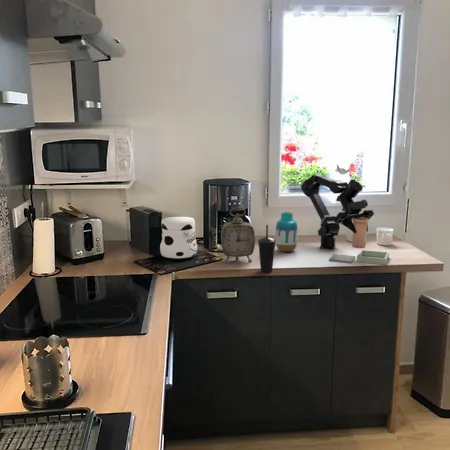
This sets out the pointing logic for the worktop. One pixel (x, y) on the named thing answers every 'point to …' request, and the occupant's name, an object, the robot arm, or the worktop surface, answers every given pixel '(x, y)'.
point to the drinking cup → (266, 252)
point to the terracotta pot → (359, 232)
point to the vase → (286, 232)
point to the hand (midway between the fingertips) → (361, 232)
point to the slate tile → (342, 258)
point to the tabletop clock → (237, 238)
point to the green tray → (373, 259)
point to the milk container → (178, 238)
